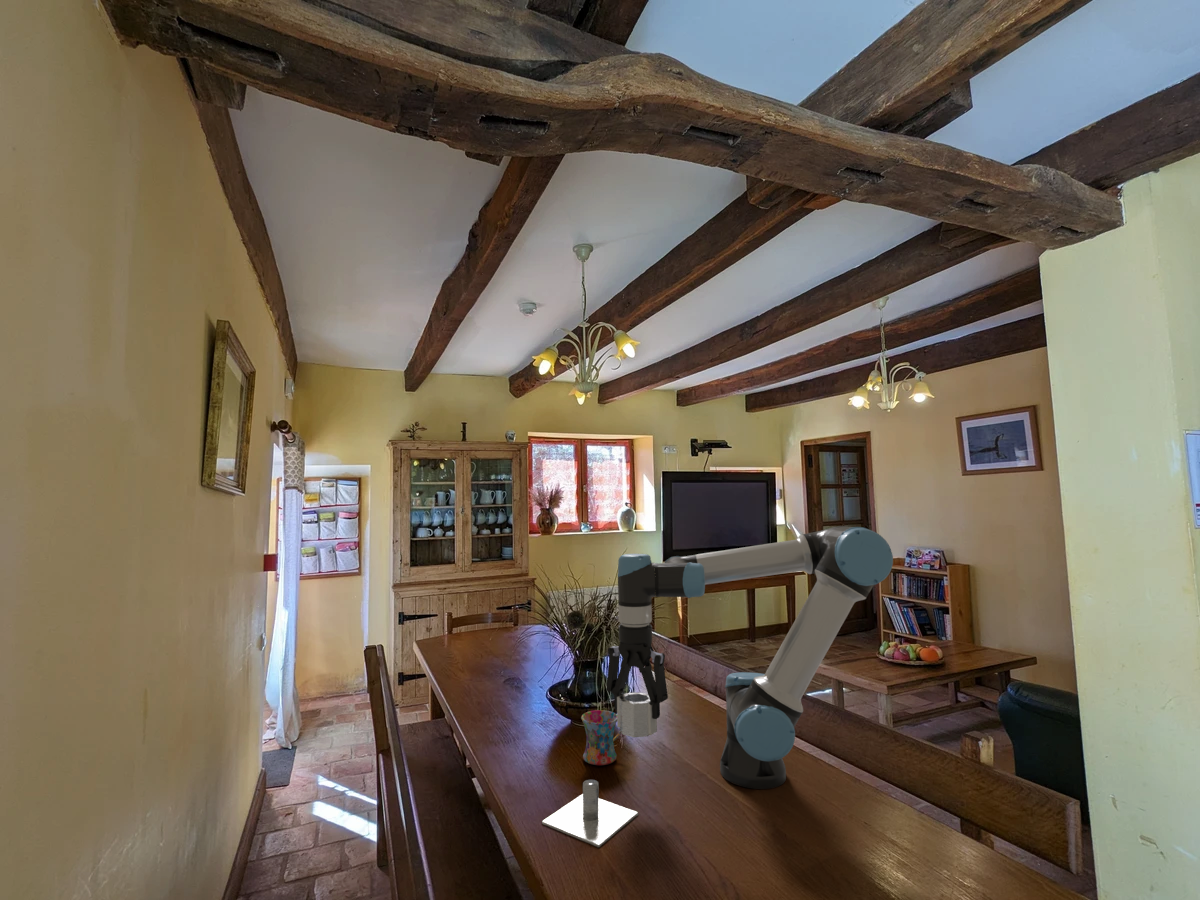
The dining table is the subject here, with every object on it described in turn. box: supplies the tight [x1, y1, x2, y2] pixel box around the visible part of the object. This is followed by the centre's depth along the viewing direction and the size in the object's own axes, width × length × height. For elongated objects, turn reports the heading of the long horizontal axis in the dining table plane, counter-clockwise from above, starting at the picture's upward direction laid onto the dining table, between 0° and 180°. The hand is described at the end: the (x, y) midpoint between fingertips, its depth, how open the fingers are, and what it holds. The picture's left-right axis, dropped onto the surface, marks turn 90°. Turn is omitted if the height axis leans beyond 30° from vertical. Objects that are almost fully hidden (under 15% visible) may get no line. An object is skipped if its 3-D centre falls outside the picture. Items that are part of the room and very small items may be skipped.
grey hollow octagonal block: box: [619, 692, 651, 738], centre depth 129 cm, size 7×7×7 cm
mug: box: [581, 709, 622, 766], centre depth 147 cm, size 12×9×11 cm
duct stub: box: [542, 779, 639, 848], centre depth 119 cm, size 14×14×7 cm
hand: (637, 729), depth 129 cm, fingers closed on grey hollow octagonal block, 7 cm apart
